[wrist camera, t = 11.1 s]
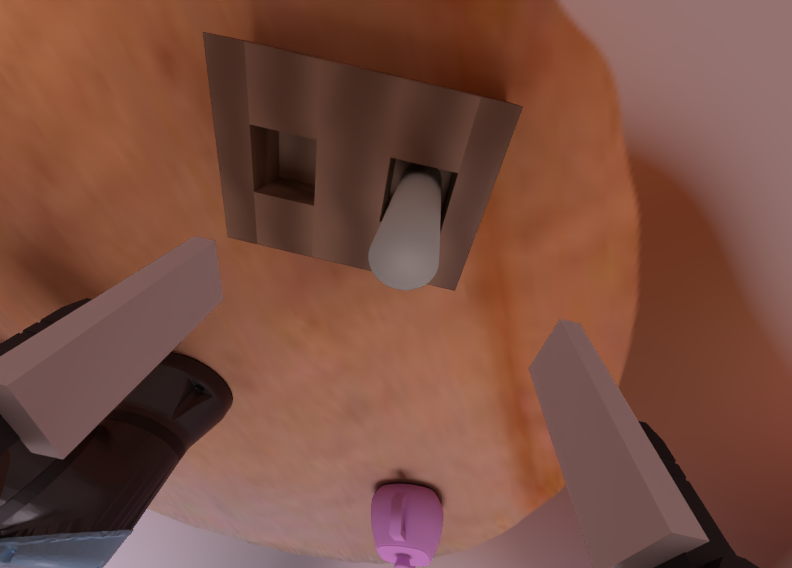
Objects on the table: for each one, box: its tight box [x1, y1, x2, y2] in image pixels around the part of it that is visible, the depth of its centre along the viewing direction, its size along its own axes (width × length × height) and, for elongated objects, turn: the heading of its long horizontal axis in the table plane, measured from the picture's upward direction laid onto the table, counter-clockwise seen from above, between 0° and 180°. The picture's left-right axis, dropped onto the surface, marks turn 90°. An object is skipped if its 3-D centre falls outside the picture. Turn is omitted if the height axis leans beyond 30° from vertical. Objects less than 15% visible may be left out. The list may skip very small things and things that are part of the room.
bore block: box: [203, 32, 523, 291], centre depth 25 cm, size 20×14×6 cm
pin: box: [368, 163, 442, 290], centre depth 21 cm, size 3×3×14 cm
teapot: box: [371, 483, 443, 568], centre depth 57 cm, size 13×20×11 cm, turn 10°
